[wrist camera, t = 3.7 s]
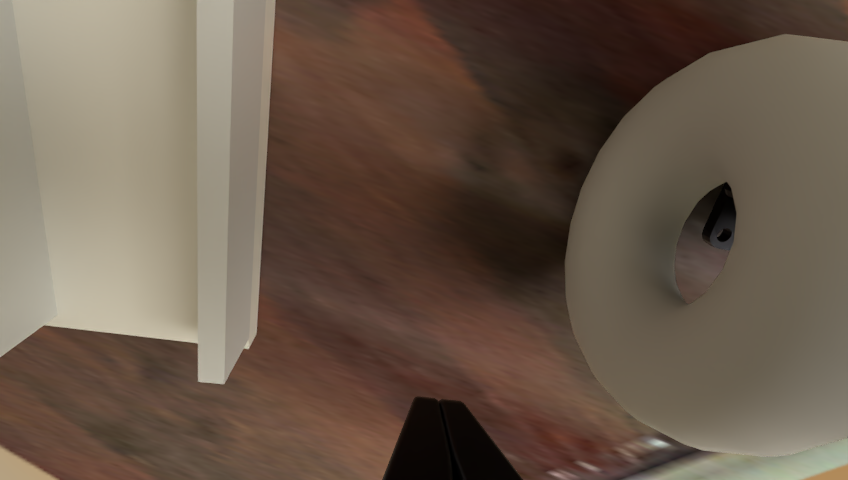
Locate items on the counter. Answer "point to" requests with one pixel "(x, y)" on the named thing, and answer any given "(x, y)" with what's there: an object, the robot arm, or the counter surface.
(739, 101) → the donut
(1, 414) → the counter surface
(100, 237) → the tiered shelf rack
